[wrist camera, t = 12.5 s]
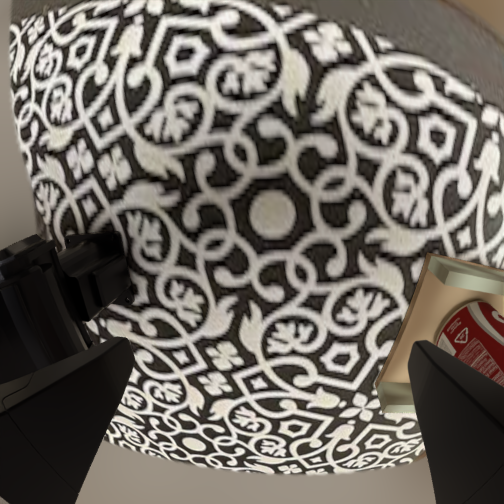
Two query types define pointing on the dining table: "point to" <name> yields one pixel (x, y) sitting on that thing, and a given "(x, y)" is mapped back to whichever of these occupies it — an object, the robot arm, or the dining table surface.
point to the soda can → (476, 338)
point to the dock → (434, 318)
